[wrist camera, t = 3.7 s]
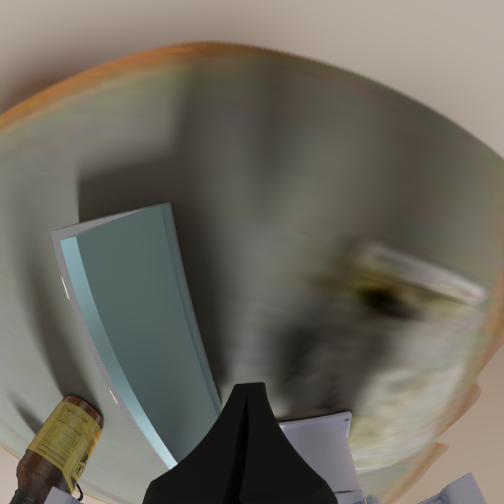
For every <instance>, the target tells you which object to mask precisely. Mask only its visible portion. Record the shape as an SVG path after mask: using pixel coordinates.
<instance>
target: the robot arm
mask: <svg viewBox="0 0 504 504" xmlns="http://www.w3.org/2000/svg"><path fill="white" fill-rule="evenodd" d="M351 418H352V414H351V412H349V411H348V412H342V413H338V414H333V415H328V416H322V417H317V418H311V419H304V420H297V421H290V422H281V423H278V422H277V420H276V418H275V416H274V414H273V412H272V409H271V407H270V404H269V402H268V399H267V394H266V387H265V383H263V382H257V383H244V384H236V385H235V386H234V387H233V390H232V392H231V395H230V397H229V399H228V401H227V403H226V405H225V407H224V408H223V410H222V412H221V414H220V415H219V417H218V419H217V420H216V422H215V423H214V425H213V426H212V427H211V429H210V430H209V432H208V433H207V434H206V436H205V437H204V438H203V439H202V440H201V442H200V443H199V444H198V445H197V446H196V447H195V448H194V449H193V450H192V451H191V452H190V453H189V454H188V455H187V456H186V457H185V458H184V459H183V460H181V461H180V462H179V463H178V464H177V465H175V466H174V467H173V468H172V469H170V470H169V471H167V472H166V473H164V474H163V475H161V476H160V477H158V478H157V479H155V480H153V481H152V482H150V485H149V487H148V489H147V491H146V493H145V497H144V500H143V503H142V504H365V500H364V497H363V493H362V490H361V488H360V485H359V481H358V477H357V473H356V469H355V466H354V462H353V458H352V455H351V451H350V448H349V444H348V441H347V440H348V435H349V429H350V424H351ZM366 500H367V504H381V502H380V499H379V498H378V497H375V496H373V495H368V496H366ZM44 504H83V503H80V502H79V501H78V500H77V499H75V498H74V497H73V496H71V495H69V494H68V493H66V492H64V491H62V490H60V489H58V488H56V487H52V489H51V491H50V493H49V495H48V497H47V499H46V501H45V503H44ZM418 504H487V503H486V501H485V499H484V497H483V495H482V493H481V491H480V489H479V487H478V485H477V483H476V481H475V479H474V477H473V475H472V473H468V474H466V475H464V476H463V477H461V478H459V479H458V480H456V481H454V482H452V483H451V484H449V485H447V486H446V487H445V488H444V489H443V490H442V491H441V492H440V493H439V494H437V495H435V496H433V497H430V498H428V499H426V500H424V501H422V502H420V503H418Z"/></svg>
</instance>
